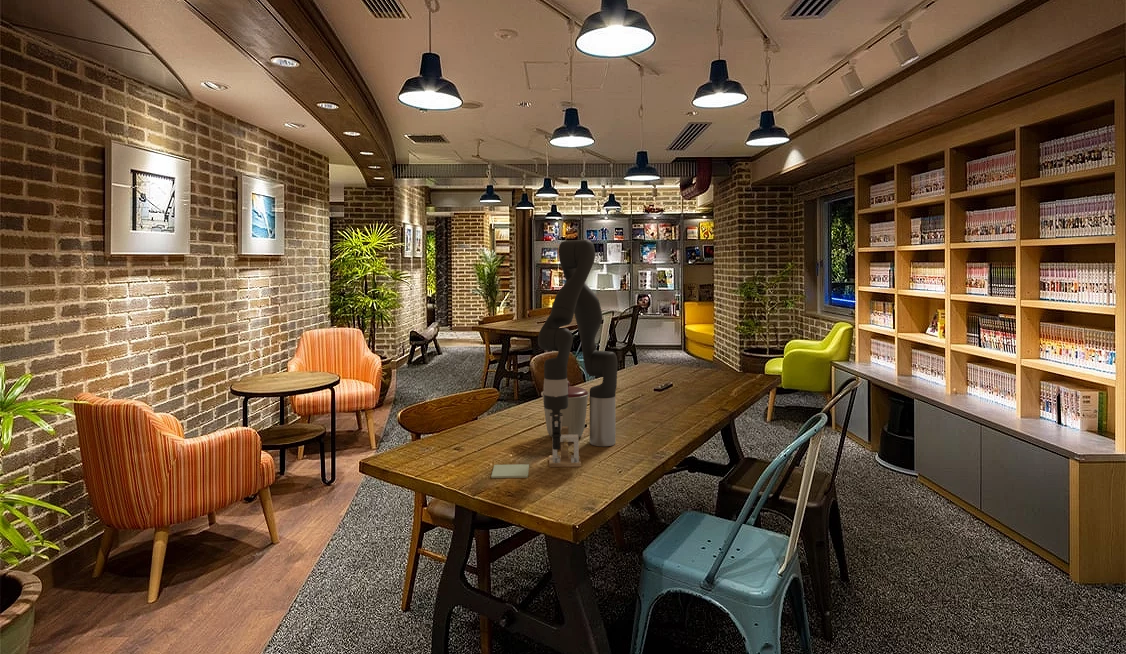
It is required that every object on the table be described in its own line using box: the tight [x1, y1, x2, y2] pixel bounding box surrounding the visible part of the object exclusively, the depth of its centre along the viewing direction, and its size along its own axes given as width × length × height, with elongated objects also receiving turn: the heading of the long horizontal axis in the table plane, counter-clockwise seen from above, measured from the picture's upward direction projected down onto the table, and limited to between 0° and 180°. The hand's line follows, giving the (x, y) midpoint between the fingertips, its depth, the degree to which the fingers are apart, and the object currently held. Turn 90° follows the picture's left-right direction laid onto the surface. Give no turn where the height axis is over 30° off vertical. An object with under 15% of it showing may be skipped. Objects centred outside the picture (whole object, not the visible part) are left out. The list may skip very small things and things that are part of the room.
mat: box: [490, 463, 530, 479], centre depth 198 cm, size 11×11×1 cm
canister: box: [540, 380, 590, 438], centre depth 237 cm, size 18×18×21 cm
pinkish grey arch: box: [551, 434, 580, 463], centre depth 198 cm, size 3×8×8 cm, turn 91°
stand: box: [548, 427, 582, 468], centre depth 202 cm, size 19×10×11 cm, turn 1°
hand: (556, 447), depth 197 cm, fingers closed on pinkish grey arch, 3 cm apart
